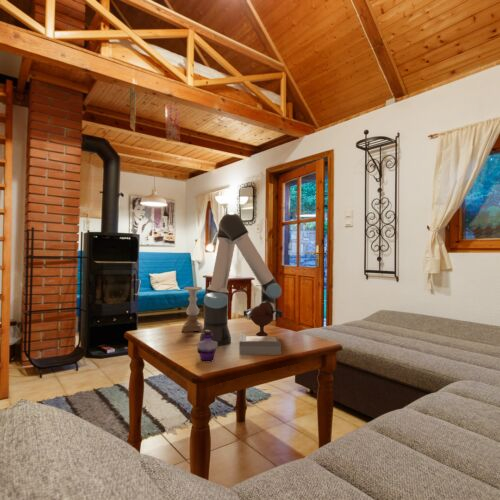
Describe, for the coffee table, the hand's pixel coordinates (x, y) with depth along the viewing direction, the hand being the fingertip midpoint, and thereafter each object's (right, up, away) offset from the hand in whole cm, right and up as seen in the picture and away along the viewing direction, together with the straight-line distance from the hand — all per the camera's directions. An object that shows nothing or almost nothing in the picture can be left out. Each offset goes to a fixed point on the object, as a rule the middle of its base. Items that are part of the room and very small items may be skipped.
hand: (260, 317), depth 156 cm
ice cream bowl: (+1, -9, +4) cm, 10 cm away
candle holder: (-37, -15, +39) cm, 56 cm away
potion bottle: (-22, -15, -15) cm, 31 cm away
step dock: (-1, -15, +3) cm, 15 cm away
